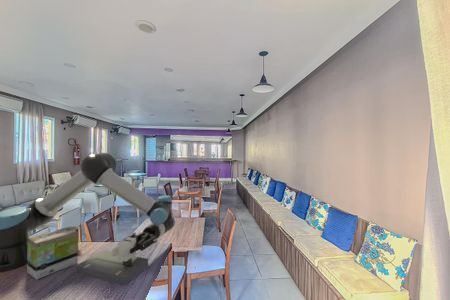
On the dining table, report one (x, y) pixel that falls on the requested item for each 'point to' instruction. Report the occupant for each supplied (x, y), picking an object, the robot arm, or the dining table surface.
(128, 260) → the fader knob
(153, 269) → the dining table surface
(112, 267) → the console
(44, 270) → the tea box
